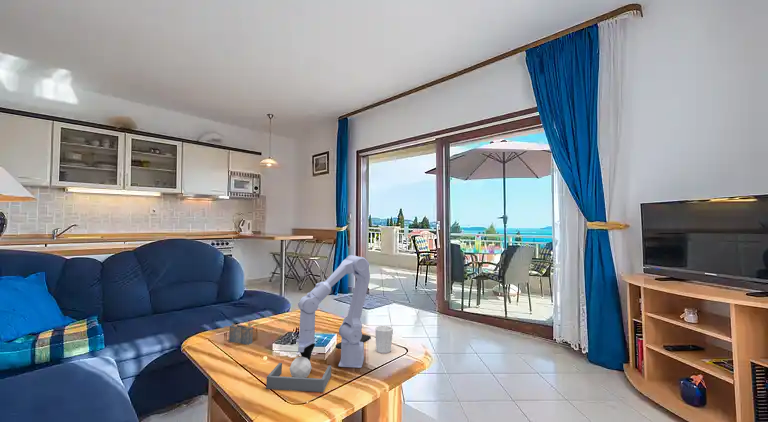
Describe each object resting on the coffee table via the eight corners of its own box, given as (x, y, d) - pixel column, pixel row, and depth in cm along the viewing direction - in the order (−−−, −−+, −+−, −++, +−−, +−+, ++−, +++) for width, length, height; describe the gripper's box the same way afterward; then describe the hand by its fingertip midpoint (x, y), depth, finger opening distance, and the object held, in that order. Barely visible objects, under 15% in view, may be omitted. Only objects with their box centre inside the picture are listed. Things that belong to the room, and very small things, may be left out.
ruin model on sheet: (252, 343, 158) (253, 322, 159) (248, 345, 155) (249, 324, 156) (233, 340, 162) (234, 319, 162) (229, 342, 159) (229, 321, 159)
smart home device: (371, 335, 168) (349, 348, 151) (371, 339, 168) (349, 352, 151) (357, 332, 172) (334, 344, 155) (357, 336, 172) (334, 348, 155)
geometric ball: (302, 388, 122) (301, 377, 117) (285, 376, 124) (284, 365, 120) (315, 371, 127) (315, 360, 122) (299, 359, 130) (299, 348, 125)
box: (331, 376, 126) (331, 365, 126) (323, 392, 114) (323, 380, 114) (279, 373, 127) (279, 362, 127) (266, 388, 115) (266, 376, 115)
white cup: (372, 351, 151) (372, 329, 151) (378, 346, 158) (379, 324, 158) (388, 355, 148) (388, 332, 148) (394, 348, 155) (395, 327, 155)
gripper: (302, 322, 136) (301, 356, 135) (290, 334, 121) (289, 372, 121) (319, 323, 135) (318, 357, 135) (309, 335, 121) (308, 373, 120)
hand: (305, 364), depth 128 cm, fingers closed
